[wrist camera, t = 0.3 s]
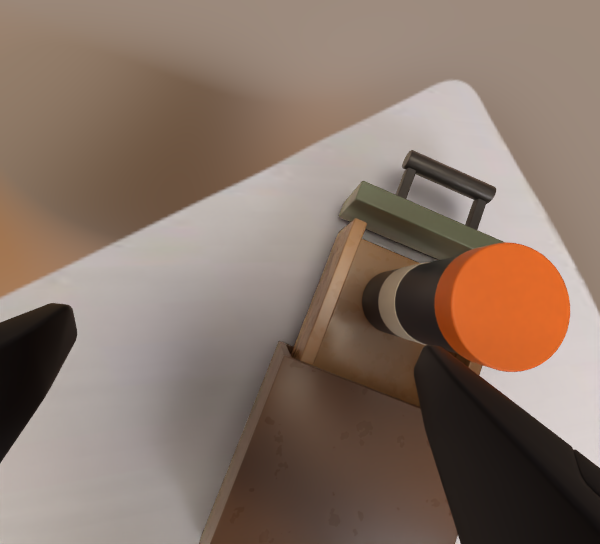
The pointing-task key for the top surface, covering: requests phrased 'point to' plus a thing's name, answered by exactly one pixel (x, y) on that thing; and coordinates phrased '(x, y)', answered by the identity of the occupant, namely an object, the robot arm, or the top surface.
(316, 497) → the cabinet
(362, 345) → the drawer
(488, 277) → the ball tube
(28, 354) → the robot arm
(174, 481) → the top surface
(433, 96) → the top surface
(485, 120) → the top surface
